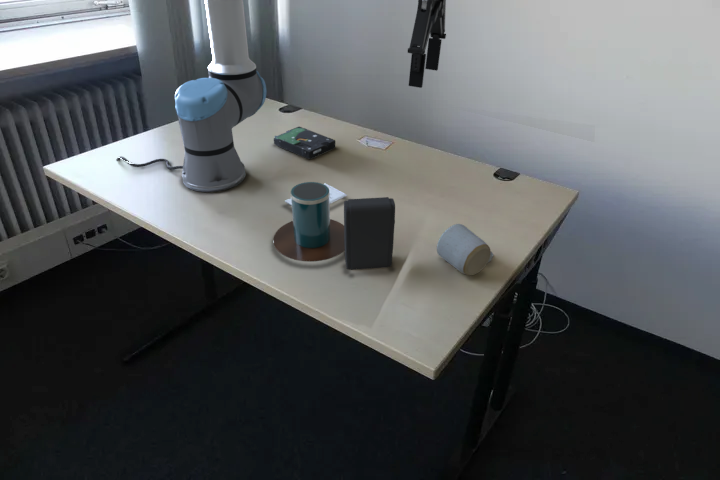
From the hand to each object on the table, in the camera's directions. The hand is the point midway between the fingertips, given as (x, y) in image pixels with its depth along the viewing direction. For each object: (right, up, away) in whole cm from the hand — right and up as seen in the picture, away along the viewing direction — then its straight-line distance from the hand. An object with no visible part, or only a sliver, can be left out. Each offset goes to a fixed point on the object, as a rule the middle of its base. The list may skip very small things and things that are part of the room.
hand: (423, 77), depth 110 cm
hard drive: (-24, -26, +10) cm, 37 cm away
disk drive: (-29, -9, +35) cm, 47 cm away
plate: (-23, -35, -3) cm, 43 cm away
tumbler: (-23, -34, -4) cm, 42 cm away
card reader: (-12, -40, -10) cm, 43 cm away
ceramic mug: (+7, -39, -8) cm, 41 cm away
